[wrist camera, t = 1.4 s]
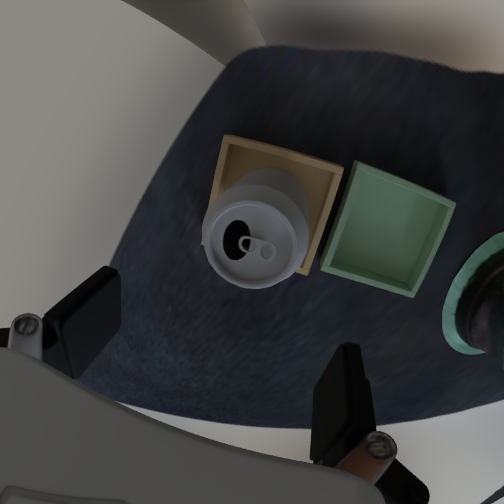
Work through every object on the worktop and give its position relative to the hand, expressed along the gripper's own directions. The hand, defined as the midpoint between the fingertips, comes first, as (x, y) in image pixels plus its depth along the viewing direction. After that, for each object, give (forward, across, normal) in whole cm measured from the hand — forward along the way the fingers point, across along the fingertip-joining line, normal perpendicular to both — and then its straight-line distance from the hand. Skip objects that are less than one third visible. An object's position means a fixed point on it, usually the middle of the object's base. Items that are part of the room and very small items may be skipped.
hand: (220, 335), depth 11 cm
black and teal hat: (+21, -34, +2) cm, 40 cm away
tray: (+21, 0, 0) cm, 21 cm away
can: (+20, 0, 0) cm, 21 cm away
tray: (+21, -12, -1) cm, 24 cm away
